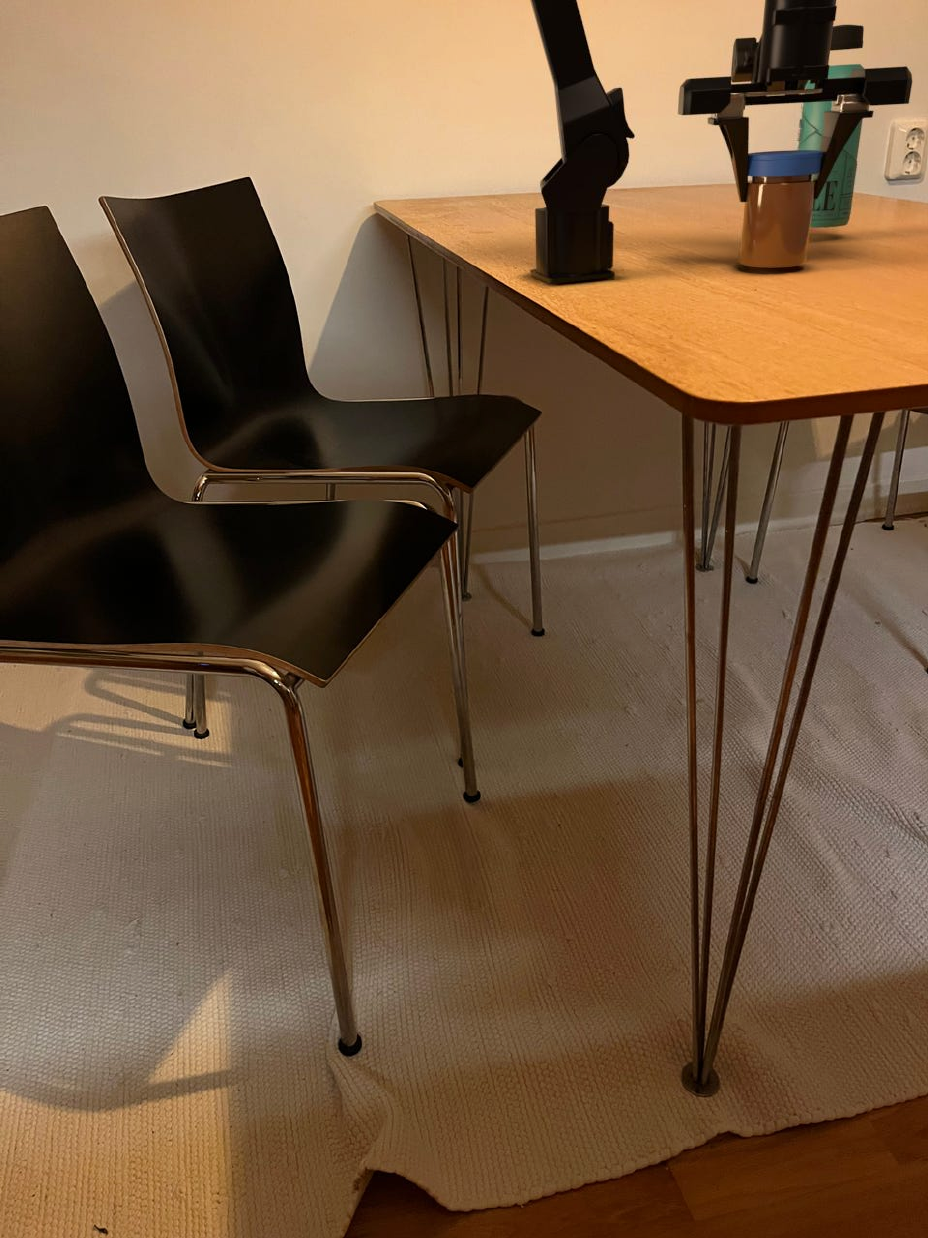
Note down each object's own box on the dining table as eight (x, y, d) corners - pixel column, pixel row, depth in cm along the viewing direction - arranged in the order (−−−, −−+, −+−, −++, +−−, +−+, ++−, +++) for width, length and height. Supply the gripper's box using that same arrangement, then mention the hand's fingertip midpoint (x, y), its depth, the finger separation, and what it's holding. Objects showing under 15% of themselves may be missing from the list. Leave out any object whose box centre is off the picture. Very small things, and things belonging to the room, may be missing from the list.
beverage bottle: (840, 233, 104) (868, 24, 95) (855, 241, 99) (887, 19, 89) (780, 235, 105) (802, 28, 95) (792, 244, 99) (817, 24, 90)
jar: (760, 269, 84) (771, 166, 79) (727, 261, 89) (735, 164, 85) (818, 263, 85) (832, 162, 81) (782, 255, 90) (793, 159, 86)
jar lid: (730, 174, 85) (732, 153, 84) (792, 169, 86) (794, 149, 86) (769, 177, 80) (772, 155, 79) (834, 172, 81) (837, 151, 80)
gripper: (890, -3, 82) (862, 188, 90) (678, 11, 85) (668, 196, 93) (930, -16, 73) (894, 199, 81) (690, 0, 75) (677, 208, 83)
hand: (778, 200), depth 84 cm, fingers closed on jar, jar lid, 6 cm apart
